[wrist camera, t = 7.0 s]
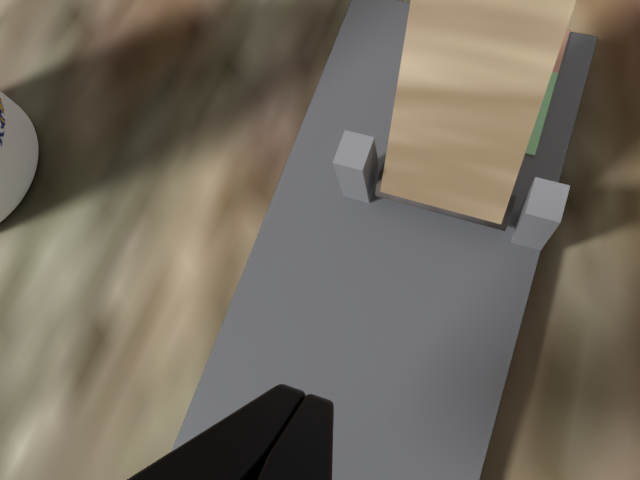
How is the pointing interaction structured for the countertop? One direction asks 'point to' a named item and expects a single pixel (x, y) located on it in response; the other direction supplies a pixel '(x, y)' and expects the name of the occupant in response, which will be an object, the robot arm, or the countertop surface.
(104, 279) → the countertop surface
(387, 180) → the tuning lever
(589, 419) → the countertop surface
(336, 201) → the base
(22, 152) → the bath foam
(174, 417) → the countertop surface
